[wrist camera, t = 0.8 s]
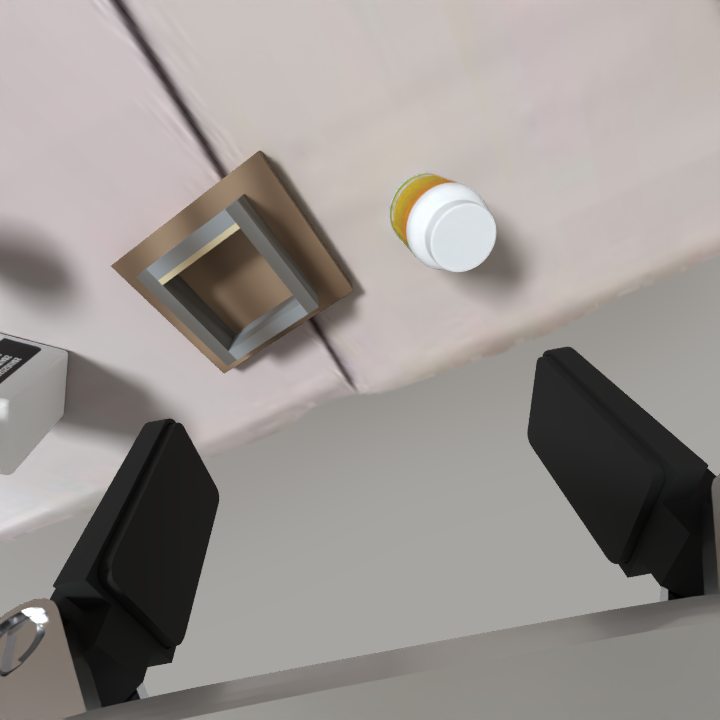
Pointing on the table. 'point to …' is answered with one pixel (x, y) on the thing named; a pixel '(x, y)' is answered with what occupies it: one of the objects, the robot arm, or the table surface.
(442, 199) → the supplement bottle
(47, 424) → the container
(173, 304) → the collar board
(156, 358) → the table surface
